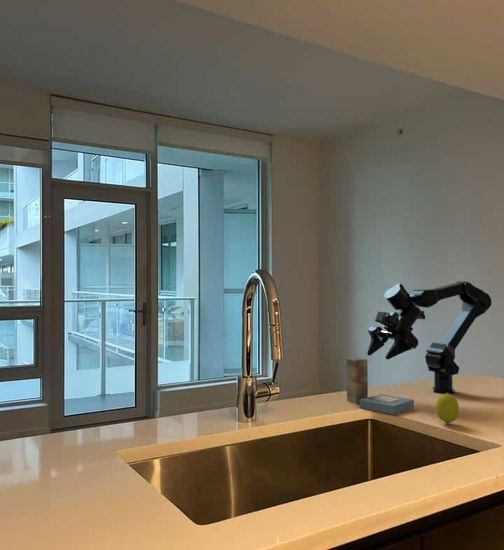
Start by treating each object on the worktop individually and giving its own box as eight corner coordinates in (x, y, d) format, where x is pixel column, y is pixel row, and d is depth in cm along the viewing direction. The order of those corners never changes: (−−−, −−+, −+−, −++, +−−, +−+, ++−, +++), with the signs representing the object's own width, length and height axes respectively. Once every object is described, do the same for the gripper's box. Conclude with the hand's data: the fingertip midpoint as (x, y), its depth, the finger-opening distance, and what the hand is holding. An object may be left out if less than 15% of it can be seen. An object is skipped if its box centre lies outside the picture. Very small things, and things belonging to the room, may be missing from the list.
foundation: (381, 401, 157) (381, 393, 157) (413, 408, 149) (413, 399, 149) (359, 407, 150) (359, 398, 150) (392, 414, 142) (392, 405, 142)
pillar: (359, 399, 161) (358, 357, 161) (367, 402, 157) (367, 359, 157) (346, 400, 159) (346, 358, 159) (355, 403, 155) (355, 360, 155)
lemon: (462, 427, 129) (462, 395, 130) (440, 427, 130) (440, 395, 130) (454, 421, 135) (454, 390, 135) (433, 421, 135) (432, 390, 135)
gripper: (372, 301, 172) (344, 336, 168) (410, 303, 155) (380, 342, 150) (391, 324, 175) (364, 359, 171) (431, 328, 158) (402, 367, 154)
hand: (377, 356), depth 161 cm, fingers open, 9 cm apart
